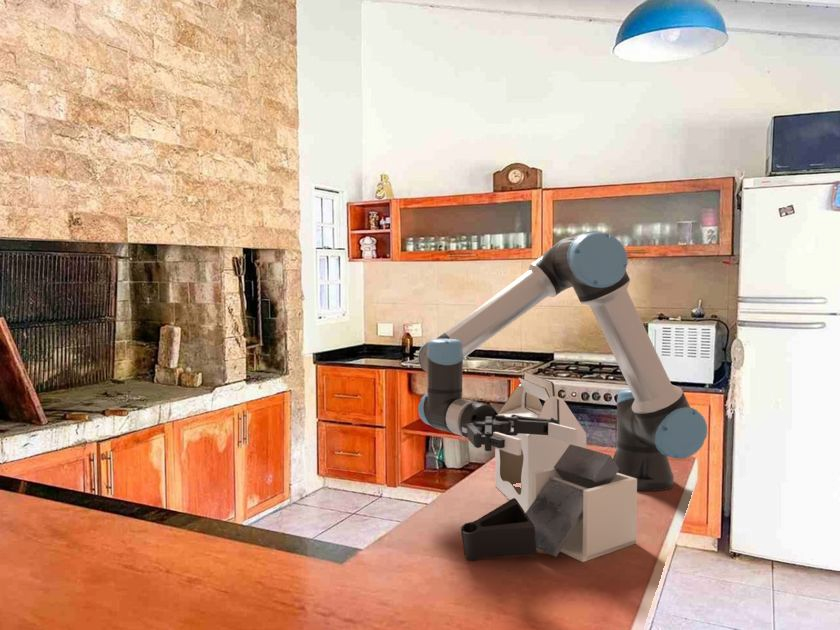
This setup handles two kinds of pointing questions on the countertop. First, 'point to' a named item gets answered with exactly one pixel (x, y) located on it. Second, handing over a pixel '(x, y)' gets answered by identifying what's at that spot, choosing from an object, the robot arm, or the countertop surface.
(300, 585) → the countertop surface
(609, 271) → the robot arm
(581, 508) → the trapdoor
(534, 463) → the gable box
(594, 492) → the frame
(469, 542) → the phone stand
